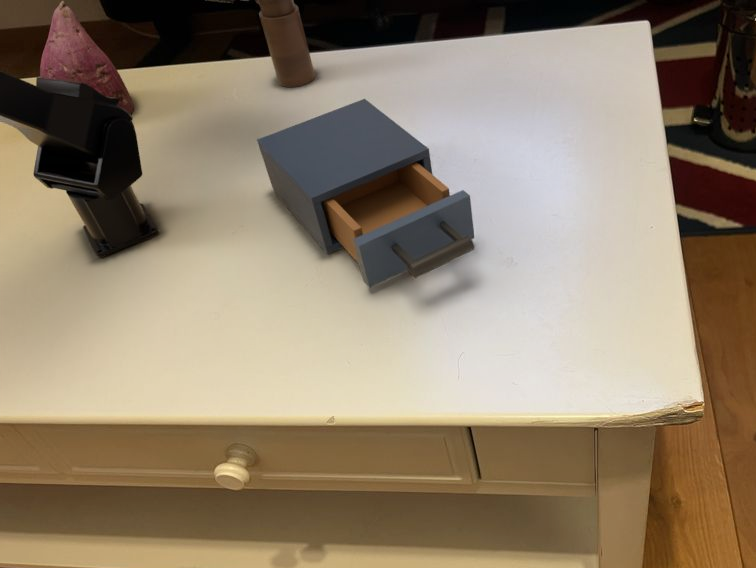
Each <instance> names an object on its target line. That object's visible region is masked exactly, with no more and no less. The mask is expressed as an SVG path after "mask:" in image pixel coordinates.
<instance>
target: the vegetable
mask: <svg viewBox="0 0 756 568" xmlns="http://www.w3.org/2000/svg"><path fill="white" fill-rule="evenodd" d="M45 42H46V43H45V46H44V49H43V52H42V55H41V59H40V68H39V75H40V76H39V77H41V78H49V79H56V80H64V81H71V82H79V83H84V84H86V85H88V86H90V87H92V88H94V89H95V90H96V91H98V92H99V93H101V94H102V95H104V96H106V97H114V98H119V99H120V102H119V103H118V104H117V105H116V106H119V107H122V108H123V109H125V110H126V111H127V112H128V113H129V114H130V115H131V114H132V113H133V111H134V110H135V105H134V102H133V99H132V97H131V95H130V92H129V90H128V88H127V87H126V84H125V82H124V80H123V79H122V76H121V75H120V73H119V71H118V70H117V68H116V67H115V65H114V64H113V62H112V61H111V60H110V58H109V57H108V55H106V53H105V52H104V51H103V50H102V49H101V48H100V47H99V46H98V45H97V43H96V42H94V40H93V39H92V37H90V35H89V34H88V33H87V31H86V29H85V28H84V27H83V25H82V24H81V23H80V21H79V19H78V17H77V15H76V14H75V12H74V11H73V10H72V8H70V7H69V6H68V5H66V2H65V1H64V0H61V2H60V3H59V5H58V6H57V7H56V8H55V9H54V11H53V14H52V18H51V22H50V27H49V31H48V37H47V40H46V41H45Z"/></svg>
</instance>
